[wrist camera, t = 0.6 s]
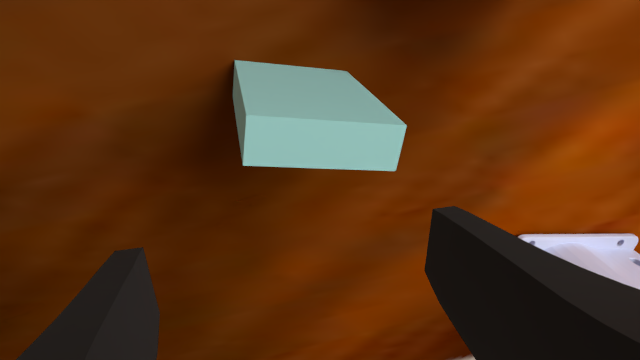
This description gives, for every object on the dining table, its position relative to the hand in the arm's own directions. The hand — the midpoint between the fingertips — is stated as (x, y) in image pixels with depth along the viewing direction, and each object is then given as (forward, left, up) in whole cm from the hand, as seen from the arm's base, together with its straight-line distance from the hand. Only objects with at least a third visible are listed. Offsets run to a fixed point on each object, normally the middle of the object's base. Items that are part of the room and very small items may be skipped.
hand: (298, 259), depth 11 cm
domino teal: (-1, -2, -10) cm, 11 cm away
